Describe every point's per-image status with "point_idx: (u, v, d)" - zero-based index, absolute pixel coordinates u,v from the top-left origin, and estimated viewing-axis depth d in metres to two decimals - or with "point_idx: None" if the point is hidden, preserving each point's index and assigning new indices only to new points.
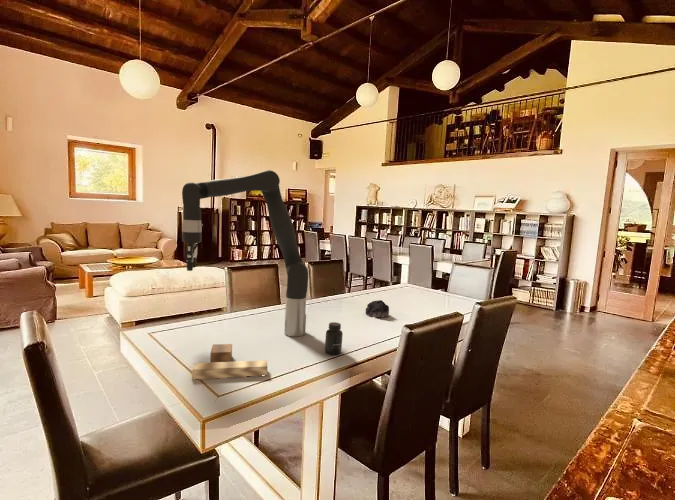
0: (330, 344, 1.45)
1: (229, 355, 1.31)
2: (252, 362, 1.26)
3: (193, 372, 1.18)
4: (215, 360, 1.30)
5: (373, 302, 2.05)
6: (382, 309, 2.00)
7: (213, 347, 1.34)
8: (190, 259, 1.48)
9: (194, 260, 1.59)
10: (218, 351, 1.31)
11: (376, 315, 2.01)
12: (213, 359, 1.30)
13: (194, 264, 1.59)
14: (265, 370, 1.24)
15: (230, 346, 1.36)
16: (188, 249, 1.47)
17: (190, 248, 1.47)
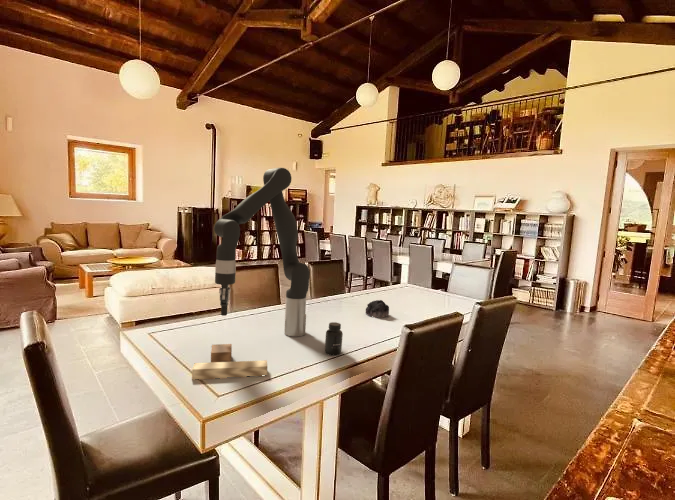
0: (330, 344, 1.45)
1: (230, 355, 1.31)
2: (252, 362, 1.26)
3: (193, 372, 1.18)
4: (215, 360, 1.30)
5: (373, 302, 2.06)
6: (382, 309, 2.01)
7: (213, 347, 1.34)
8: (225, 304, 1.39)
9: None
10: (218, 351, 1.31)
11: (376, 315, 2.02)
12: (213, 359, 1.30)
13: None
14: (265, 370, 1.24)
15: (230, 346, 1.36)
16: (223, 298, 1.36)
17: (225, 298, 1.36)
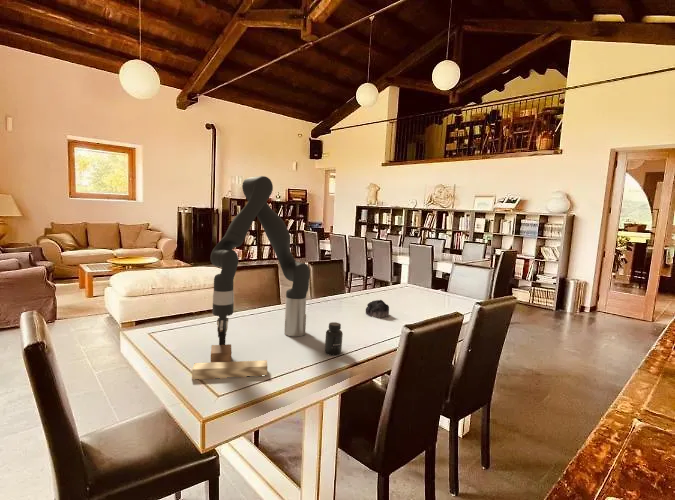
0: (330, 344, 1.45)
1: (229, 355, 1.31)
2: (252, 362, 1.26)
3: (193, 372, 1.18)
4: (215, 360, 1.29)
5: (373, 302, 2.06)
6: (382, 309, 2.01)
7: (212, 348, 1.34)
8: (223, 336, 1.35)
9: None
10: (218, 352, 1.30)
11: (376, 315, 2.02)
12: (213, 360, 1.29)
13: None
14: (265, 370, 1.24)
15: (230, 346, 1.36)
16: (220, 331, 1.33)
17: (222, 330, 1.33)
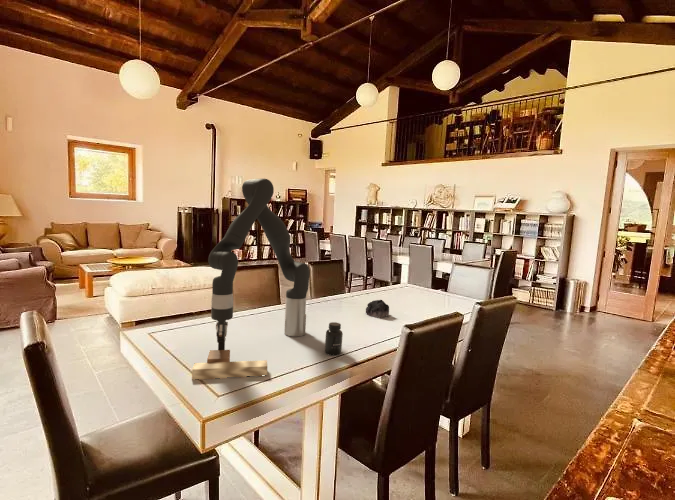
0: (330, 344, 1.45)
1: None
2: (252, 362, 1.26)
3: (193, 372, 1.18)
4: None
5: (373, 302, 2.06)
6: (382, 309, 2.01)
7: (210, 353, 1.29)
8: (222, 341, 1.31)
9: None
10: (215, 357, 1.25)
11: (376, 315, 2.02)
12: None
13: None
14: (265, 370, 1.24)
15: (228, 352, 1.31)
16: (219, 336, 1.28)
17: (222, 335, 1.28)
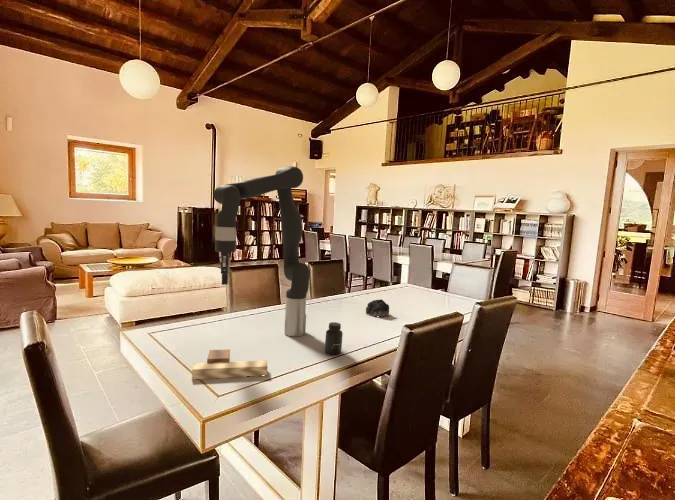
0: (330, 344, 1.45)
1: (227, 361, 1.26)
2: (252, 362, 1.26)
3: (193, 372, 1.18)
4: None
5: (373, 301, 2.07)
6: (383, 308, 2.02)
7: (210, 353, 1.29)
8: (226, 272, 1.36)
9: None
10: (215, 357, 1.25)
11: (377, 314, 2.03)
12: None
13: None
14: (265, 370, 1.24)
15: (228, 352, 1.31)
16: (223, 266, 1.33)
17: (225, 265, 1.33)
